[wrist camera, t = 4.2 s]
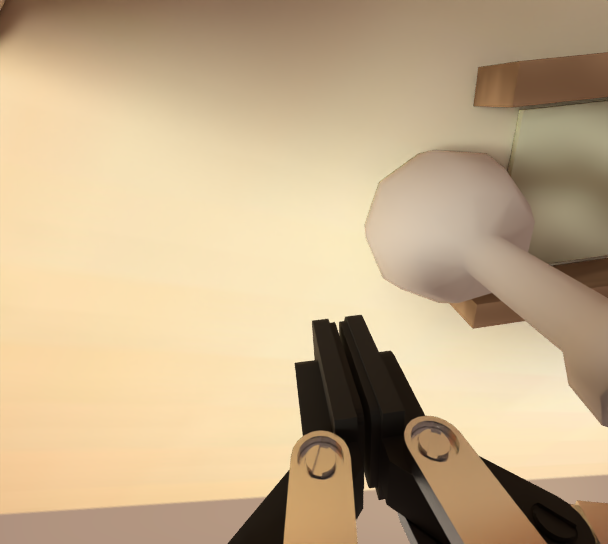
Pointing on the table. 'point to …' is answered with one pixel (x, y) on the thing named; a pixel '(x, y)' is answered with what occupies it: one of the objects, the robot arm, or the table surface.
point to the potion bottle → (485, 257)
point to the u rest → (554, 166)
